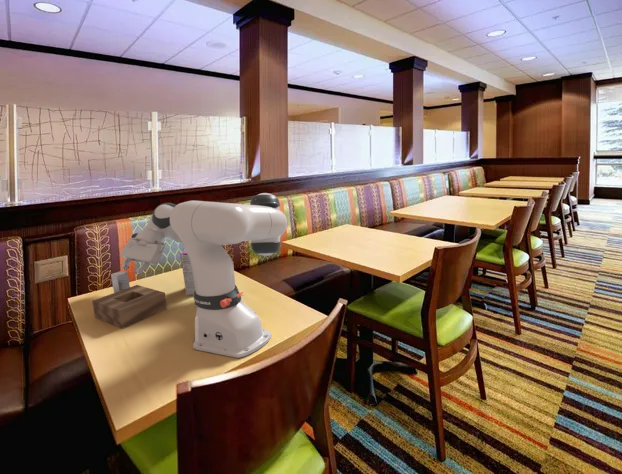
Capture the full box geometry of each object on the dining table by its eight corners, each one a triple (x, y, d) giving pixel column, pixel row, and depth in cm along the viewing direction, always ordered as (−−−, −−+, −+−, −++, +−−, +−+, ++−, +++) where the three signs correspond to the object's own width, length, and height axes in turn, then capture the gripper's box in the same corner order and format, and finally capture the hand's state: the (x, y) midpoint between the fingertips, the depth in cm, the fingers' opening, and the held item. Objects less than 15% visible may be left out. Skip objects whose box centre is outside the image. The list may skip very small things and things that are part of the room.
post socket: (167, 308, 126) (164, 292, 124) (122, 328, 113) (119, 310, 111) (139, 300, 134) (137, 284, 133) (95, 317, 121) (91, 300, 120)
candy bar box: (194, 284, 148) (189, 245, 144) (206, 284, 147) (202, 245, 144) (185, 295, 137) (179, 253, 133) (198, 295, 137) (193, 253, 133)
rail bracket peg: (131, 297, 137) (127, 272, 134) (121, 301, 133) (116, 275, 131) (125, 295, 139) (121, 270, 136) (115, 299, 136) (110, 274, 133)
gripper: (172, 247, 140) (153, 279, 135) (141, 241, 151) (122, 271, 146) (160, 238, 136) (140, 271, 130) (129, 233, 147) (109, 263, 141)
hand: (130, 271), depth 138 cm, fingers open, 8 cm apart
